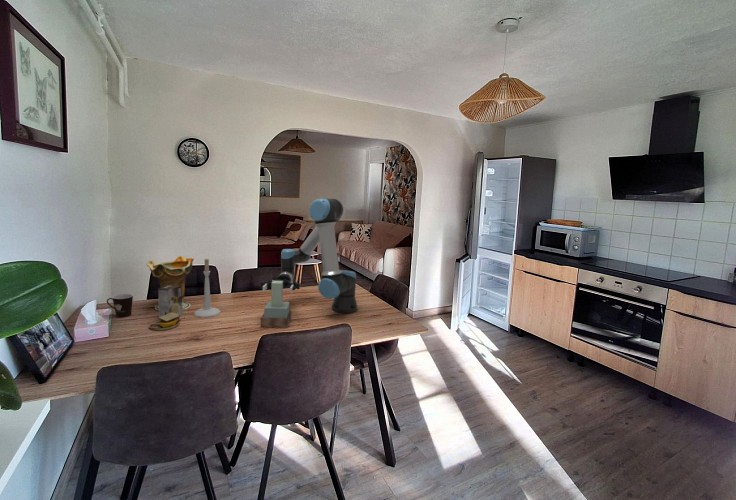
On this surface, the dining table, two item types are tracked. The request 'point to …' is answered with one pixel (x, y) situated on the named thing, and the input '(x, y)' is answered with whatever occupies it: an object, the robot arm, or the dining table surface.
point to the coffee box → (170, 300)
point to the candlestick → (207, 297)
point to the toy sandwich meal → (166, 322)
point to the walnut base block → (276, 321)
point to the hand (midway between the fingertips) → (277, 290)
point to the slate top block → (276, 310)
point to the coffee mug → (122, 304)
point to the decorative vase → (172, 274)
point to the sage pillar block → (277, 293)
